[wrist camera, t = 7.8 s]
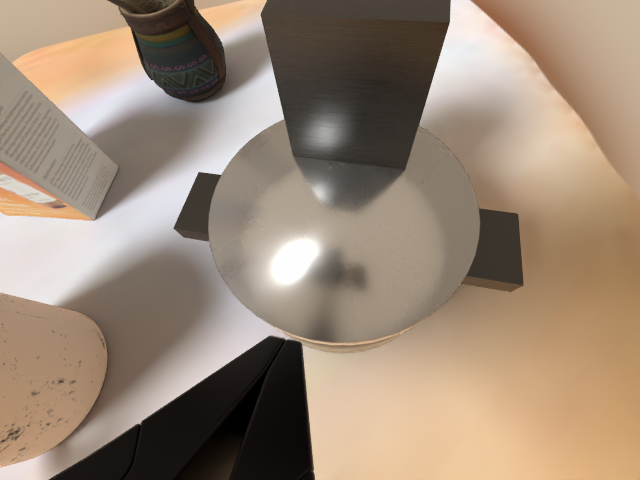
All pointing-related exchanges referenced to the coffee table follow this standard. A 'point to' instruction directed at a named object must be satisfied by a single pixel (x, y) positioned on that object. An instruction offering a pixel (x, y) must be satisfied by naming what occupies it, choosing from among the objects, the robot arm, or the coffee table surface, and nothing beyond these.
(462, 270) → the lid
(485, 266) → the pot
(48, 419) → the teacup with lid
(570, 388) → the coffee table surface
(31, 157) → the small box
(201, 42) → the mate gourd
